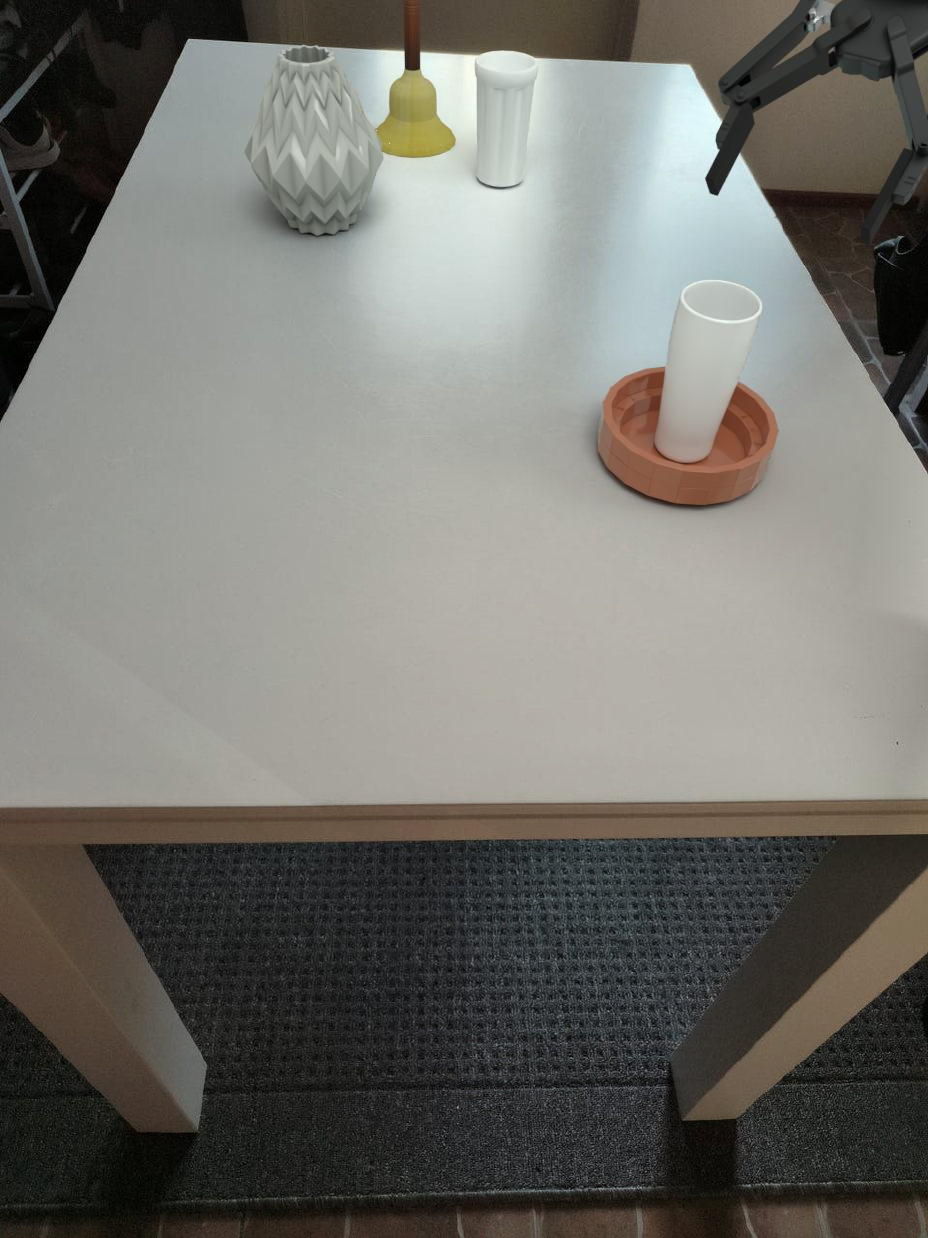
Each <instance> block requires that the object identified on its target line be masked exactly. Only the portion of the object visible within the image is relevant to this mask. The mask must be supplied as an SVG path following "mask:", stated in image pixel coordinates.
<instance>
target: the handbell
mask: <svg viewBox="0 0 928 1238" xmlns="http://www.w3.org/2000/svg"><path fill="white" fill-rule="evenodd" d="M401 1H402V6H403V7H402V8H403V45H404V46H403V51H404V69H403V73H402V75H401V76H400V77H398V78H397V79H395V80H394V81H393V83H392V84H391V85H390V88H389V95H388V96H389V97H388V109H389V112H388V114H387V116H386V118H385V119H384V121H383V122H382V123H380V124H379V125H377V127H378V128H377V127H376V128H374V129H375V130H377V131H376V132H377V134H378V136H379V138H380V140H381V142H382V148H381V151H382V153H383V152H384V153H386V154H388V155H393V156H397V157H405V158H426V157H427V158H428V157H432V156H437V155H441V154H443V153H446V152H447V151H450V150H451V149H452V148H453V147H454V146H455V145H456V141H457V139H456V137H455V134H454V132H453V131H452V129H451V128H449V127H448V126H447V124H445V123H444V122H443V121H442V120H441V118H440V116H439V115H438V110H437V109H438V108H437V107H438V106H437V105H438V100H437V90H436V88H435V86H434V84H433V82H432V81H430V80H429V79H428V78H426V77H425V76H424V75H423V73H422V69H421V3H422V0H401ZM389 143H390V144H389Z"/></svg>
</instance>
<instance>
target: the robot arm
mask: <svg viewBox="0 0 928 1238" xmlns="http://www.w3.org/2000/svg"><path fill="white" fill-rule="evenodd" d="M824 24H830V25H829V29H828V30H827V31H825V32H823V33H822V34H819V36H817V37H816V38H815V39H814V40H813V42H812V43H811V45H809V46H807V47H806V48H804V49H801V51H799V52H797V53H796V54H793V56H790V57H789V58H787V59H786V60H784V61H782V60H783V59H784V58H786V57H787V56H788V55H789V54H790V53H791V52H792V51H793V50H795V49H796V48H797V47H798V46H799V45H800V44H801V43H802V42H803V41H804V40H805V38H806V37H807V36H808V34H810V33H811V34H814V33H816V32H817V30H818V29H819V28H820V27H821V26H822V25H824ZM832 49H833V50H832ZM830 50H832V51H830ZM927 53H928V0H839V2H837V3H833V2H830V1H827V0H799V1H798V3H797V4H796V6H795V7H794V9H793V10H792V12H791V13H790V14H789V15H788V16H787V17H786V18H785V19H784V20H783V21H781V23H779V24H778V25H777V26H776V27H774V28H773V29H772V31H770V32H769V33H768V34H767V35H766V36H764V38H763V39H761V41H759V42H758V44H756V45H755V46H754V47H753V48H752V49H750V50H749V52H747V53H746V54H745V55H744V56H743V57H742V58H740V60H738V61H737V62H736V63H735V64H734V65H733V66H732V67H731V68H730V69H728V70H727V71H726V72H724V74H723V75H722V76H721V77H720V78H719V79H718V82H717V83H718V84H717V86H718V89H719V94H720V97H721V98H720V99H721V102H722V104H723V105H725V106H729V108H728V109H727V112H726V114H725V116H724V118H723V120H722V121H721V124H720V126H719V128H718V130H717V132H716V134H715V145H716V148H717V150H718V152H717V154H716V156H715V158H714V160H713V162H712V164H711V166H710V168H709V170H708V171H707V173H706V175H705V177H704V180H705V184H706V186H707V189H708V193H709V194H710V195H713V196H715V197H718V196H719V195H720V192H721V191H722V189H723V186H724V185H725V182H727V181H726V180H727V179H728V177H729V175H730V173H731V171H732V169H733V167H734V165H735V164H736V161H737V160H738V157H739V156H740V153H741V151H742V149H743V148H744V145H745V144H746V142H747V140H748V138H749V136H750V134H751V133H752V130H753V128H754V126H755V124H756V123H755V118H754V114H755V113H756V112H758V111H759V110H761V109H763V108H764V107H767V106H769V104H771V103H773V102H775V101H777V100H779V98H781V97H783V96H785V95H786V94H788V93H790V92H792V91H793V90H795V89H797V88H799V87H800V86H802V85H804V84H806V83H807V82H809V81H810V80H812V79H814V78H816V77H817V76H825V75H827V74H828V73H830V72H832V71H834V70H836V69H837V68H839V69H841V74H845V75H849V76H863V77H865V78H866V79H868V80H870V81H874V82H878V83H879V82H880V80H882V79H883V80H884V79H887V78H890V79H891V83H892V87H893V91H894V94H895V95H896V97H897V101H898V105H899V110H900V113H901V117H902V121H903V124H904V128H905V129H904V130H905V133H906V136H907V140H908V145H909V147H910V149H909V148H906V147H903V149H902V151H901V153H900V154H899V157H898V158H897V160H896V162H895V163H894V165H893V168H892V169H891V171H890V173H889V175H888V177H887V179H886V180H885V182H884V184H883V186H882V187H881V190H880V191H879V193H878V195H877V197H876V198H875V200H874V202H873V204H872V206H871V208H870V209H869V212H868V213H867V215H866V217H865V219H864V221H863V223H862V224H861V225H860V243H861V244H865V245H867V246H870V245H871V243H872V242H873V240H874V238H875V236H876V234H877V232H878V231H879V229H880V227H881V225H882V223H883V221H884V220H885V218H886V216H887V214H888V212H889V211H890V209H891V207H892V205H893V204H897V205H899V206H900V205H901V206H905V205H906V204H907V203H908V202H909V201H910V199H911V197H912V196H913V194H914V192H915V191H916V189H917V186H918V185H919V183H920V181H921V179H922V177H923V175H924V174H925V172H926V171H927V169H928V115H927V111H926V107H925V104H924V103H925V102H924V100H923V95H922V92H921V87H920V85H919V80H918V77H917V72H916V68H915V61H916V60H918V59H919V58H921V57H923V56H924V55H925V54H927ZM781 61H782V62H781ZM780 62H781V63H780Z"/></svg>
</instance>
